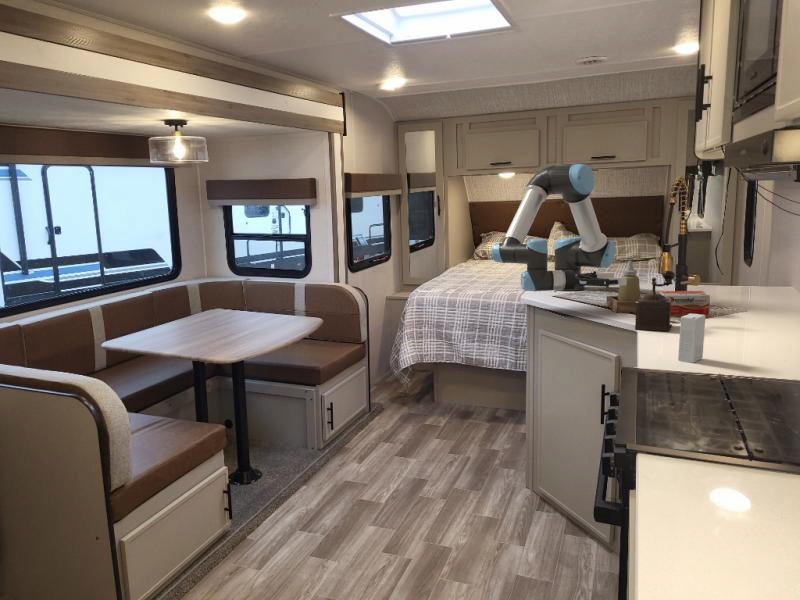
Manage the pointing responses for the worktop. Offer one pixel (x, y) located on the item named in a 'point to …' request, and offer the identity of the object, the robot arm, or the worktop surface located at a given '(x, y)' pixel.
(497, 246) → the robot arm
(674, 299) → the medicine box
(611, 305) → the walnut well
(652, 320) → the manual coffee grinder
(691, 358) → the skincare box
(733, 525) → the worktop surface
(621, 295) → the squeeze bottle
